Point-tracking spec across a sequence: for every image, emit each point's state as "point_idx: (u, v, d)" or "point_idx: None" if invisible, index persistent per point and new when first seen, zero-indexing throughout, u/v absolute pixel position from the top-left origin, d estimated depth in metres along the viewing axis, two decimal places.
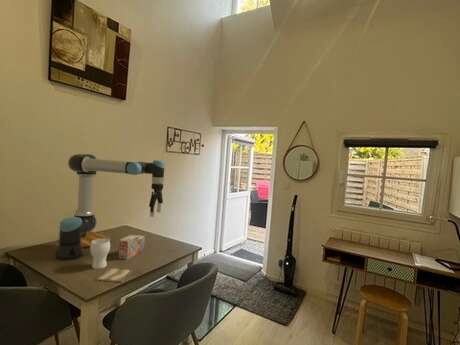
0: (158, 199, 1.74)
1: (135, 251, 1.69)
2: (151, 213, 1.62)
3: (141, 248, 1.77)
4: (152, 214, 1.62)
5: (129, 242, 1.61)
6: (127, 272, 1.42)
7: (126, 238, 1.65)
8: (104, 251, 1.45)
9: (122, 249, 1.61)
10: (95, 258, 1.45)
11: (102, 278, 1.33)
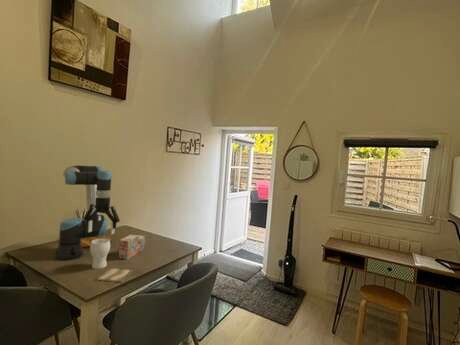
0: None
1: (135, 251, 1.70)
2: None
3: (141, 248, 1.77)
4: None
5: (129, 242, 1.62)
6: (127, 272, 1.42)
7: (126, 238, 1.65)
8: (104, 251, 1.45)
9: (122, 248, 1.61)
10: (95, 258, 1.45)
11: (102, 278, 1.33)
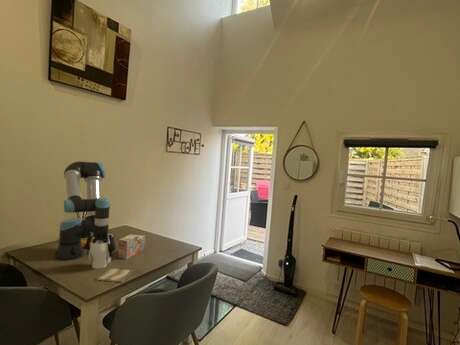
0: None
1: (135, 251, 1.70)
2: None
3: (141, 248, 1.77)
4: None
5: (128, 242, 1.62)
6: (127, 272, 1.42)
7: (126, 238, 1.65)
8: (104, 251, 1.45)
9: (121, 248, 1.62)
10: (95, 258, 1.45)
11: (102, 278, 1.33)
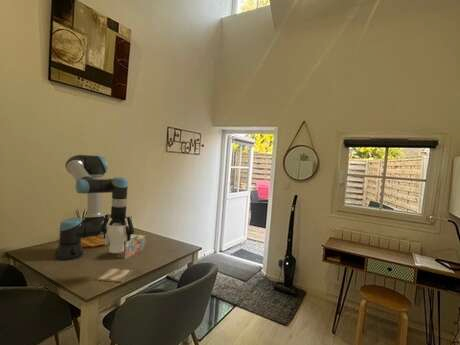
0: None
1: (134, 250, 1.70)
2: None
3: (141, 248, 1.77)
4: None
5: None
6: (127, 272, 1.42)
7: (125, 237, 1.66)
8: (122, 234, 1.35)
9: None
10: (112, 241, 1.34)
11: (102, 278, 1.33)
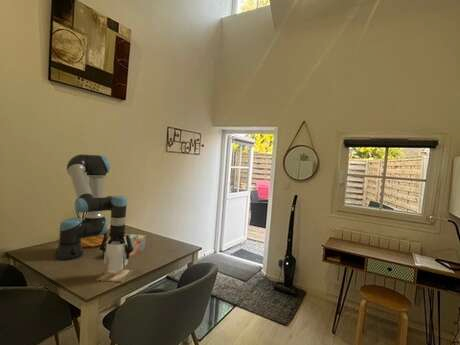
0: None
1: (134, 250, 1.71)
2: None
3: (141, 248, 1.77)
4: None
5: None
6: (127, 272, 1.42)
7: None
8: (121, 253, 1.35)
9: None
10: (111, 260, 1.35)
11: (102, 278, 1.33)
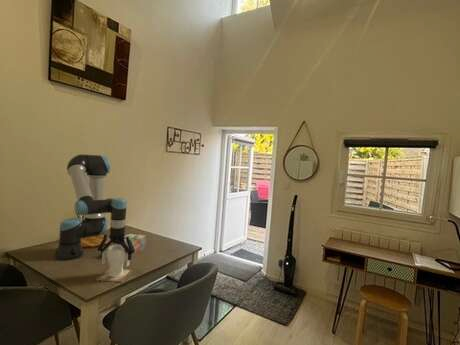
0: None
1: None
2: None
3: (141, 247, 1.78)
4: None
5: (126, 241, 1.63)
6: (127, 272, 1.42)
7: None
8: (121, 258, 1.36)
9: None
10: (112, 266, 1.35)
11: (102, 278, 1.33)
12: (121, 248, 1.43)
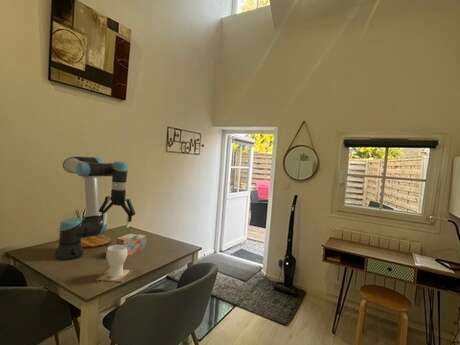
0: None
1: (133, 250, 1.71)
2: None
3: (141, 247, 1.78)
4: None
5: (125, 241, 1.63)
6: (127, 272, 1.42)
7: (124, 236, 1.67)
8: (121, 258, 1.35)
9: None
10: (112, 266, 1.35)
11: (102, 278, 1.33)
12: (121, 248, 1.43)
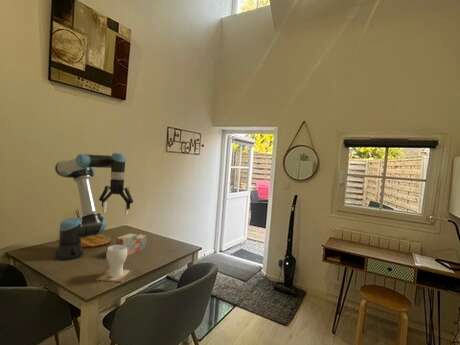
0: None
1: (133, 250, 1.71)
2: None
3: (141, 247, 1.78)
4: None
5: (125, 240, 1.64)
6: (127, 272, 1.42)
7: (124, 236, 1.68)
8: (121, 258, 1.35)
9: None
10: (112, 266, 1.35)
11: (102, 278, 1.33)
12: (121, 248, 1.43)
